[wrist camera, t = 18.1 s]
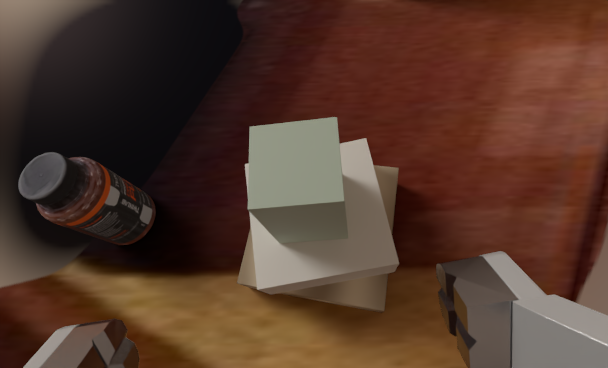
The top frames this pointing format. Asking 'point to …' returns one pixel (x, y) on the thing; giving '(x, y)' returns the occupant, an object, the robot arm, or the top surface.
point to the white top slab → (338, 252)
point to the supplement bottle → (87, 198)
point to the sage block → (297, 180)
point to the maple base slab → (346, 293)
